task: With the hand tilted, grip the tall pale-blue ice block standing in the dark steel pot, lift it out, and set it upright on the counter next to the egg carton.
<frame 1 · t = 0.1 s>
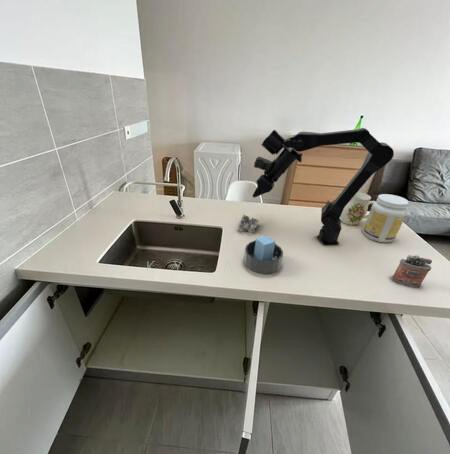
hand: (256, 192, 99), 15 cm above the worktop, tool tilted 35°, fingers open, 9 cm apart
pot: (261, 264, 82), on the worktop
supplement tub: (377, 236, 103), on the worktop
egg carton: (248, 228, 104), on the worktop
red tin: (405, 282, 78), on the worktop
pitcher: (351, 222, 113), on the worktop
ice block: (262, 262, 82), point 1 cm above the worktop, touching pot
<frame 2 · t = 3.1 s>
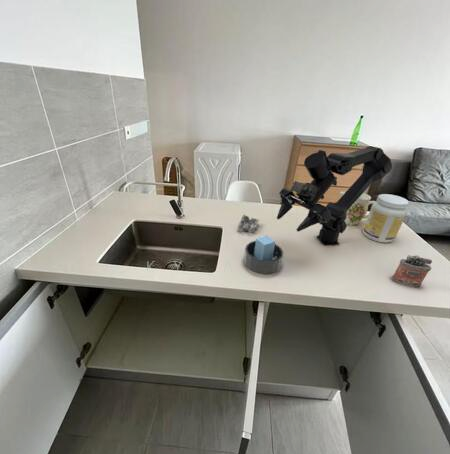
hand: (286, 224, 79), 14 cm above the worktop, tool tilted 45°, fingers open, 9 cm apart
nothing on the worktop moved.
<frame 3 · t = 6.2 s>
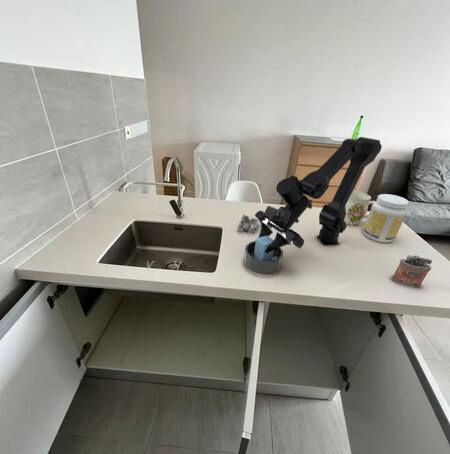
hand: (261, 248, 78), 7 cm above the worktop, tool tilted 45°, fingers closed on ice block, 4 cm apart
ice block: (262, 262, 82), point 1 cm above the worktop, touching gripper, pot
everything else where it was.
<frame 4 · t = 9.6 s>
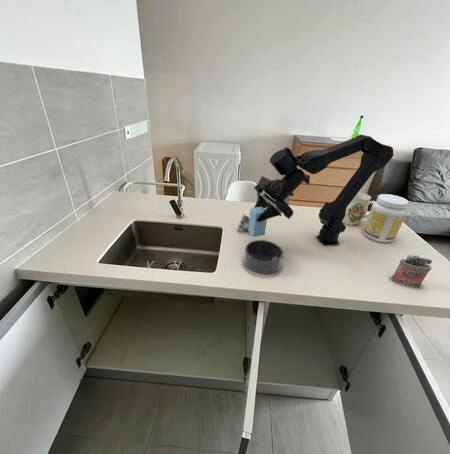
hand: (254, 218, 83), 13 cm above the worktop, tool tilted 45°, fingers closed on ice block, 4 cm apart
ice block: (256, 232, 86), point 7 cm above the worktop, touching gripper
everything else where it was.
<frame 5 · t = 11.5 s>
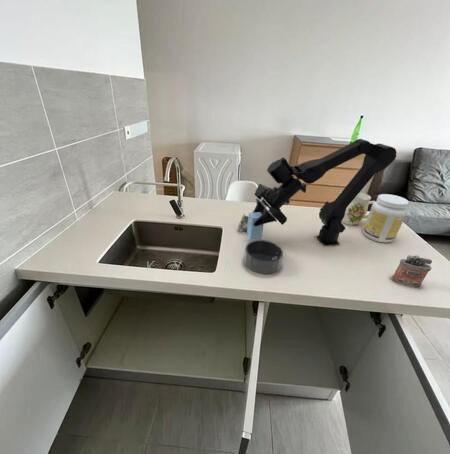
hand: (252, 222, 88), 9 cm above the worktop, tool tilted 45°, fingers closed on ice block, 4 cm apart
ice block: (254, 236, 92), point 3 cm above the worktop, touching gripper
everything else where it was.
when the fingers open (6 cm above the worktop, at t = 12.9 s): ice block stays where it is, on the worktop.
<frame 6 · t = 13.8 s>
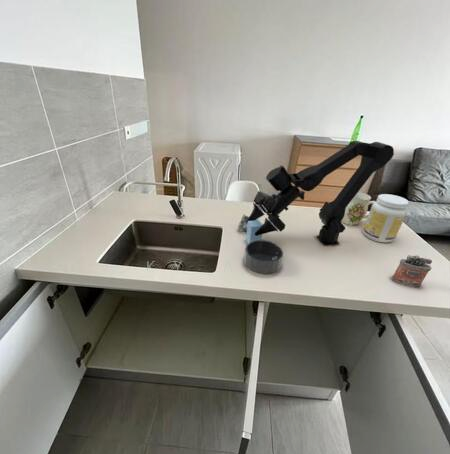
hand: (251, 228, 90), 7 cm above the worktop, tool tilted 45°, fingers open, 9 cm apart
ice block: (252, 243, 93), on the worktop
everything else where it was.
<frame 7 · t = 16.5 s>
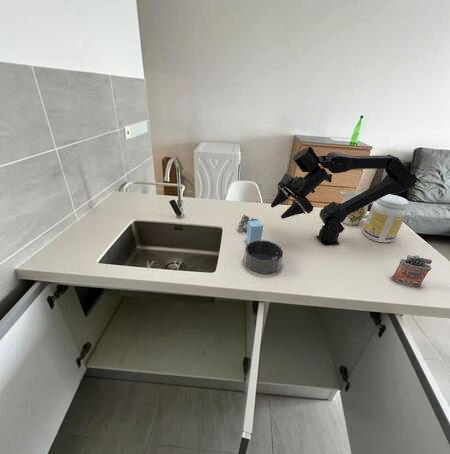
hand: (276, 212, 88), 13 cm above the worktop, tool tilted 45°, fingers open, 9 cm apart
nothing on the worktop moved.
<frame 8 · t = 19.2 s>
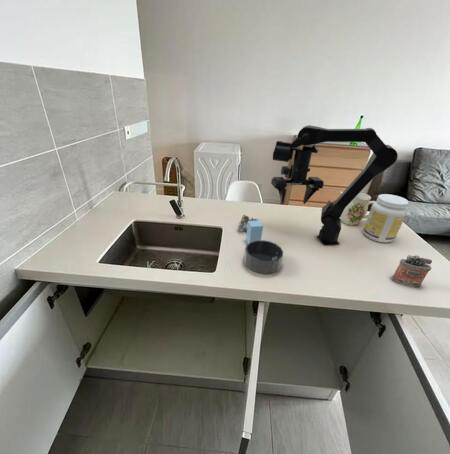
hand: (293, 203, 96), 13 cm above the worktop, tool pointing down, fingers open, 9 cm apart
nothing on the worktop moved.
at the end: ice block inside the target area (0.0 cm from its centre), on the worktop; ice block 12.1 cm from the egg carton (horizontally); ice block tilted 0° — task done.
